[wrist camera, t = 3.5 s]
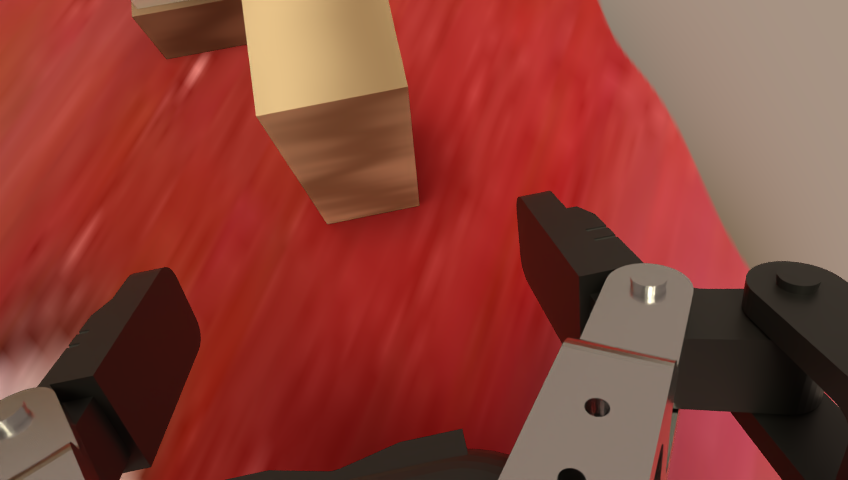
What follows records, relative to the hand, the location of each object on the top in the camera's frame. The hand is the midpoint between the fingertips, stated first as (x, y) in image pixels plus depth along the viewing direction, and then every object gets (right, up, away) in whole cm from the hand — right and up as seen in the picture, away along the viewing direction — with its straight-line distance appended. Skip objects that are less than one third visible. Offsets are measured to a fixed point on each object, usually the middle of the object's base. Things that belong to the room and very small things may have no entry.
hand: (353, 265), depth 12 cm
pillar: (-1, +4, +13) cm, 14 cm away
